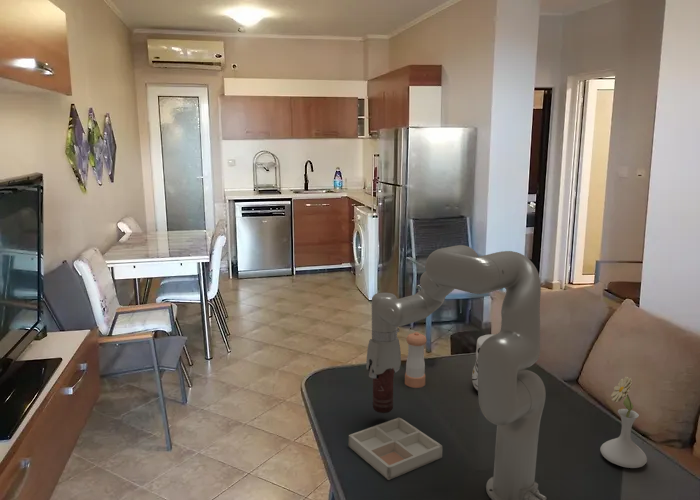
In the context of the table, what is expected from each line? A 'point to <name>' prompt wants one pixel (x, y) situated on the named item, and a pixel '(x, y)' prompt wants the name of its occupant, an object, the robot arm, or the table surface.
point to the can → (383, 391)
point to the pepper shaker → (415, 361)
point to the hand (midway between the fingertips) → (384, 392)
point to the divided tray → (395, 447)
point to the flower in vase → (624, 433)
